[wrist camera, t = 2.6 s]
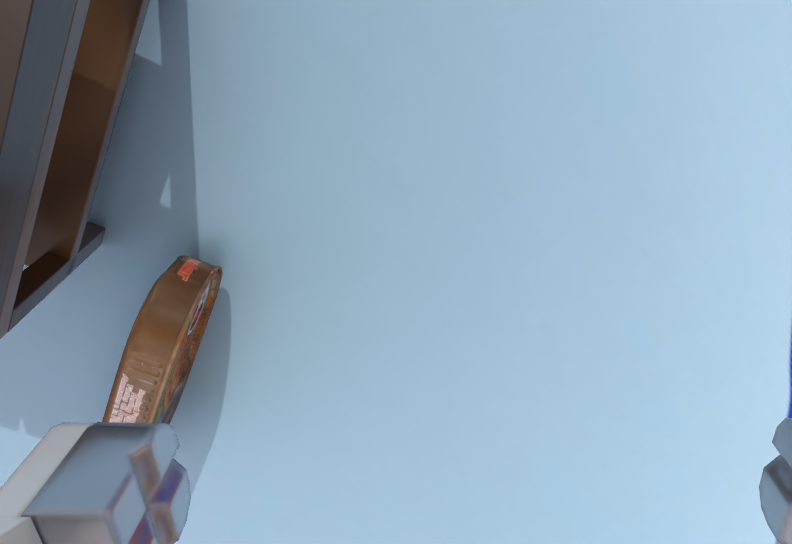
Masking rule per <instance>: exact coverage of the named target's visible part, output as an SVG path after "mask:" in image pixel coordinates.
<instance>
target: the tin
mask: <svg viewBox="0 0 792 544" xmlns="http://www.w3.org/2000/svg"><path fill="white" fill-rule="evenodd" d="M221 277H222V268H221V267H220V266H216V267H215V266H212V265H210V264H207V263H205V262H202V261H199V260H196V259H194V258H191V257H188V256H179V257H178V258H177V260H176V261H175V262H174V263H173V264H172V265H171V266H170V267H169V268H168V270H167V271H166V272H165V273H164V274H163V275H161V276H160V278H159V279H158V280H157V281H156V282H155V284H154V285H153V287H152V289H151V290H150V292H149V294H148V296H147V298H146V300H145V302H144V303H143V305H142V307H141V309H140V311H139V313H138V316H137V318H136V320H135V322H134V325H133V327H132V330H131V332H130V335H129V337H128V340H127V343H126V346H125V349H124V352H123V355H122V358H121V362H120V364H119V368H118V371H117V374H116V377H115V380H114V384H113V387H112V390H111V394H110V397H109V400H108V404H107V407H106V411H105V414H104V417H103V421H102V422H118V423H166V424H168V425H169V424H170V422H171V420H172V417H173V415H174V412H175V410H176V407H177V405H178V402H179V400H180V397H181V394H182V392H183V389H184V387H185V384H186V381H187V378H188V375H189V373H190V370H191V367H192V364H193V361H194V358H195V355H196V353H197V350H198V347H199V344H200V341H201V339H202V336H203V333H204V330H205V327H206V325H207V322H208V319H209V316H210V313H211V310H212V308H213V305H214V302H215V299H216V296H217V293H218V289H219V286H220V282H221Z"/></svg>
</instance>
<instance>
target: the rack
mask: <svg viewBox="0 0 792 544" xmlns="http://www.w3.org/2000/svg"><path fill="white" fill-rule="evenodd" d="M149 1H150V0H0V339H1V338H2V337H3V336H4V335H5V334H6V333H7V332H9V331H10V330H11V329H12V328H13V327H14V326H15V325H16V324H17V323H18V322H19V321H20V320H21V319H22V318H23V317H25V316H26V315H27V314H28V313H29V312H30V311H31V310H32V309H33V308H34V307H35V306H36V305H37V304H38V303H39V302H40V301H42V300H43V299H44V298H45V297H46V296H47V295H48V294H49V293H50V292H51V291H52V290H53V289H54V288H55V287H56V286H57V285H59V284H60V283H61V282H62V281H63V280H64V279H65V278H66V277H67V276H68V275H69V274H70V273H71V272H72V271H73V270H74V269H76V268H77V267H78V266H79V265H80V264H81V263H82V262H83V261H84V260H85V259H86V258H87V257H88V256H89V255H90V254H91V253H93V252H94V251H95V250H96V249H97V248H98V247H99V246H100V245H101V242H102V239H103V235H104V232H105V228H102V227H100V226H97V225H94V224H92V223H89V222H87V219H88V216H89V212H90V209H91V205H92V202H93V198H94V195H95V191H96V187H97V184H98V180H99V177H100V173H101V170H102V166H103V163H104V159H105V156H106V152H107V149H108V145H109V142H110V138H111V135H112V131H113V128H114V124H115V121H116V117H117V114H118V110H119V107H120V103H121V100H122V96H123V93H124V89H125V85H126V82H127V78H128V75H129V71H130V68H131V64H132V61H133V57H134V54H135V50H136V47H137V43H138V40H139V36H140V33H141V29H142V26H143V22H144V19H145V15H146V12H147V8H148V5H149ZM24 264H25V265H28V266H29V267H27V268H26V269H25V270H24V271H23V267H24Z"/></svg>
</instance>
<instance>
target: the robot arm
mask: <svg viewBox="0 0 792 544" xmlns="http://www.w3.org/2000/svg"><path fill="white" fill-rule="evenodd" d="M772 443H773V444H774V446H775V447H776V449H777V451H778V452H779V454H780V455H779V456H778V457H776V458H775V459H774V460H773V461H772V462H770V463H769V464H768V465H767V466H765V467H764V469H763V473H762V477H761V481H760V485H759V491H760V500H761V508H762V511H763V514H764V516H765V519H766V521H767V524H768V526H769V528H770V529H771V531H772V532H773V534H774V536H775V537H776V539H777V541H778V542H779V543H781V544H792V418H785V419H784V420H783V421H782V422H781V423H780V424H779V425H778V426H777V428H776V431H775V434H774V437H773V440H772ZM178 447H179V442H178V439H177V436H176V433H175V430H174V427H172V426H170V425H168V424H166V423H118V422H97V423H75V422H63V423H61V424H59V425H56V426H54V427H52V428H51V429H50V430H49V431H48V433H47V434H46V435H45V436H44V437H43V438H42V440H41V441H40V442H39V443H38V444H37V446H36V447H35V448H34V449H33V450H32V451H31V453H30V454H29V455H28V456H27V457H26V459H25V460H24V461H23V462H22V463H21V465H20V466H19V467H18V468H17V469H16V470H15V472H14V473H13V474H12V475H11V476H10V478H9V479H8V480H7V481H6V482H5V483H4V485H3V486H2V487H1V488H0V544H174V543H175V542H176V541H178V540H179V538H180V535H181V533H182V531H183V528H184V526H185V523H186V521H187V516H188V510H189V505H190V499H191V498H190V482H189V478H188V474H187V470H186V469H185V468H184V467H183V466H182V465H180V464H179V463H178V462H177V461H176V460H175V459H173V457H174V455H175V453H176V451H177V449H178Z"/></svg>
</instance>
